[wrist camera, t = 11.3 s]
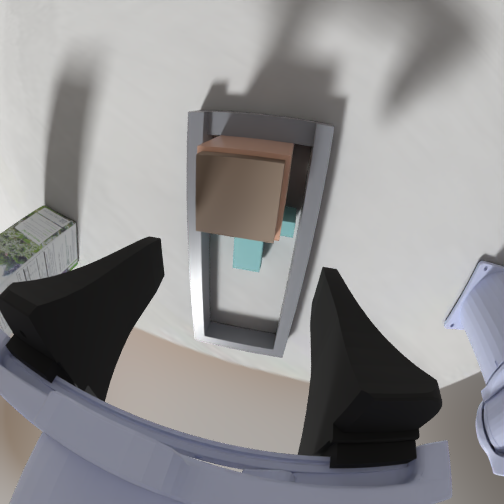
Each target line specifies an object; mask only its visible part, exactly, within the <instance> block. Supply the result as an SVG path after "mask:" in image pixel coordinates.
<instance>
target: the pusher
mask: <svg viewBox="0 0 504 504" xmlns="http://www.w3.org/2000/svg"><path fill="white" fill-rule="evenodd" d="M296 209H297V208H292V207H286V206H285V211H284V217H283V222H282V228H281V233H280V236H286V237H292V238H293V234H294V228H295V222H296ZM263 246H264V242H261V241H255V240H249V239H243V238H237V237H234V254H233V268H238V269H243V270H249V271H255V272H259V271H260V267H261V262H262V254H263Z"/></svg>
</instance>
